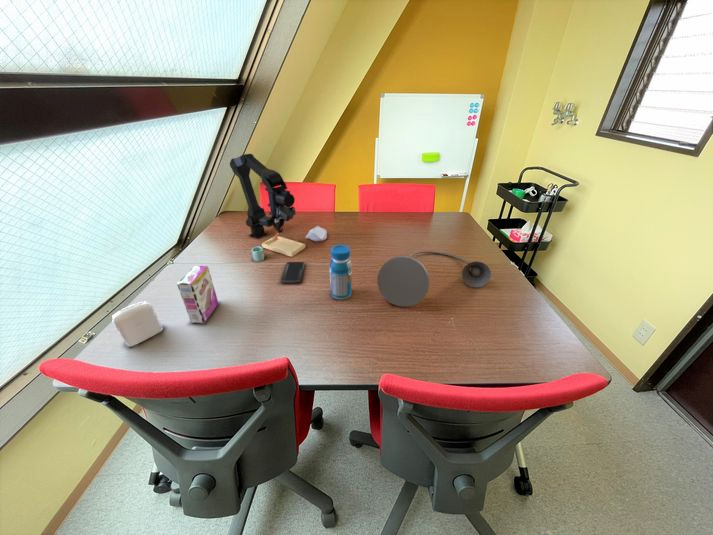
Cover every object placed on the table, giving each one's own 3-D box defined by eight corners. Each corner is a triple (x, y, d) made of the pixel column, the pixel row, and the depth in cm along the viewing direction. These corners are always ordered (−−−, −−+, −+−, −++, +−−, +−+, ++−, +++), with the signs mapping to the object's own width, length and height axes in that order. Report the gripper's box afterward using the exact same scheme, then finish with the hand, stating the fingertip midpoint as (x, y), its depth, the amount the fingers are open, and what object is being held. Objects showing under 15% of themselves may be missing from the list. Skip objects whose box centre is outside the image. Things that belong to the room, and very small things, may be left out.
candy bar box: (205, 324, 97) (191, 284, 88) (191, 323, 97) (175, 284, 88) (219, 302, 107) (208, 265, 98) (206, 302, 107) (193, 264, 98)
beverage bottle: (335, 302, 108) (334, 256, 97) (327, 290, 114) (324, 246, 103) (355, 296, 111) (356, 251, 100) (346, 285, 117) (346, 241, 106)
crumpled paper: (322, 245, 146) (328, 234, 156) (322, 233, 142) (328, 222, 153) (305, 244, 146) (312, 233, 157) (304, 232, 143) (311, 221, 154)
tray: (262, 247, 143) (261, 243, 142) (276, 239, 151) (276, 235, 150) (291, 256, 135) (291, 253, 134) (305, 247, 143) (305, 243, 142)
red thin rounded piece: (272, 240, 144) (270, 223, 139) (273, 240, 145) (271, 222, 139) (284, 244, 141) (281, 226, 136) (285, 243, 142) (283, 225, 137)
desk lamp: (489, 327, 97) (374, 300, 108) (480, 287, 138) (397, 270, 149) (503, 275, 91) (380, 252, 103) (489, 249, 133) (403, 235, 144)
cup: (251, 259, 133) (249, 250, 130) (258, 254, 137) (257, 245, 134) (259, 262, 131) (257, 252, 128) (266, 257, 135) (265, 248, 132)
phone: (280, 281, 117) (287, 261, 129) (281, 283, 117) (287, 264, 130) (300, 281, 117) (304, 261, 129) (300, 283, 117) (305, 264, 130)
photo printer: (129, 349, 88) (111, 319, 81) (124, 342, 90) (106, 312, 83) (165, 330, 94) (151, 301, 88) (160, 324, 97) (146, 295, 90)
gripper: (275, 211, 121) (280, 244, 129) (302, 198, 135) (305, 229, 143) (255, 206, 125) (261, 238, 134) (284, 194, 139) (287, 224, 147)
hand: (280, 232), depth 139 cm, fingers closed on red thin rounded piece, 1 cm apart
